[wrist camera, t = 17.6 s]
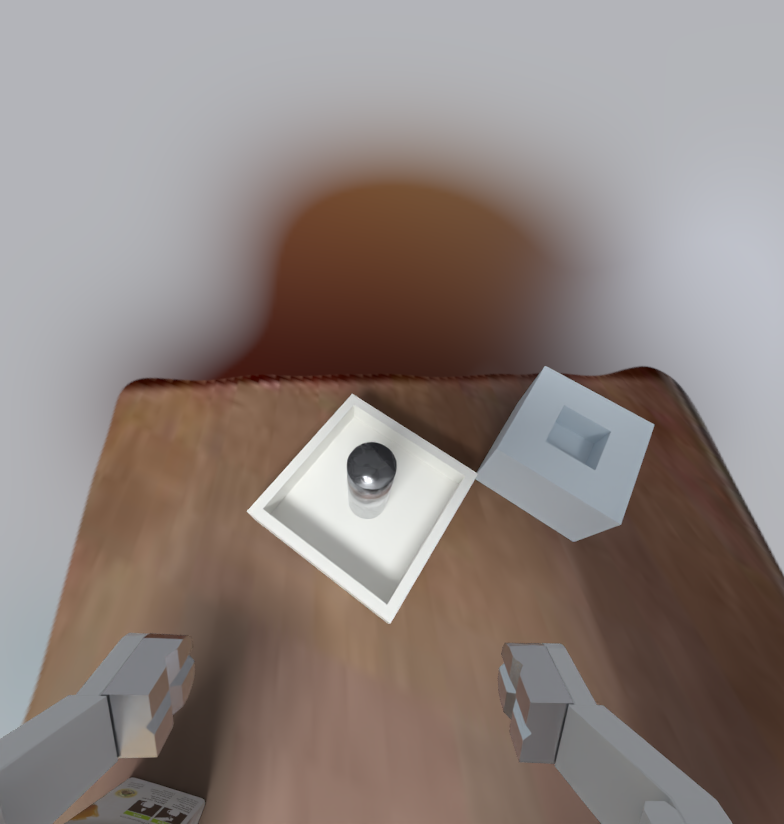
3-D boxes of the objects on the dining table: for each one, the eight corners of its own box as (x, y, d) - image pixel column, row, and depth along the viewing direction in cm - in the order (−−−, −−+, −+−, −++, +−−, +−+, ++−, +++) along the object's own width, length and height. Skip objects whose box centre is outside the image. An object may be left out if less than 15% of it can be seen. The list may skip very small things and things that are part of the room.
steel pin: (394, 494, 39) (406, 459, 30) (372, 527, 37) (378, 499, 28) (363, 473, 40) (366, 433, 31) (340, 504, 38) (336, 470, 29)
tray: (469, 484, 41) (478, 473, 38) (387, 623, 34) (390, 623, 31) (352, 409, 44) (352, 393, 41) (255, 520, 37) (246, 511, 34)
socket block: (607, 455, 44) (654, 424, 37) (573, 542, 39) (621, 524, 32) (516, 403, 47) (545, 365, 40) (473, 477, 41) (496, 448, 34)
